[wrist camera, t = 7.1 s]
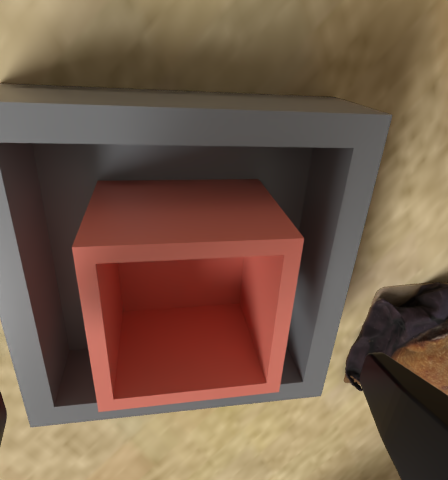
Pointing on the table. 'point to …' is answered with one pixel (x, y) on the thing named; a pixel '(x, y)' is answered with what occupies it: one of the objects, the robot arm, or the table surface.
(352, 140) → the big crate
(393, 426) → the robot arm
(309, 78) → the table surface
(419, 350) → the bread roll
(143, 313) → the small crate
